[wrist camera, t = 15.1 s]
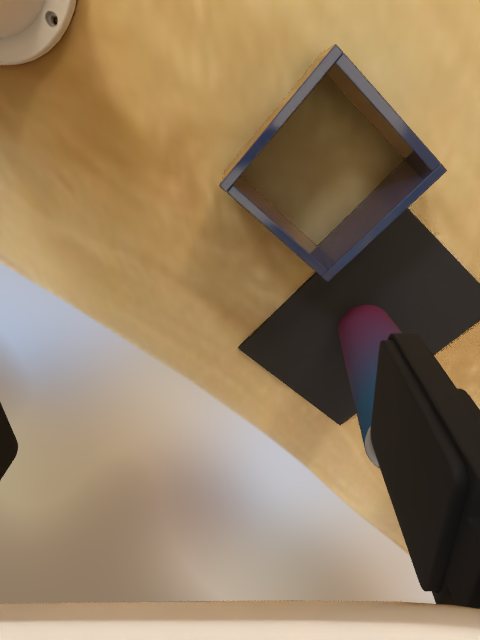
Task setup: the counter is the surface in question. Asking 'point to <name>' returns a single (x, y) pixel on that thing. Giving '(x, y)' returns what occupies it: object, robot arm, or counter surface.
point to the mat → (366, 289)
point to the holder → (377, 207)
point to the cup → (364, 360)
